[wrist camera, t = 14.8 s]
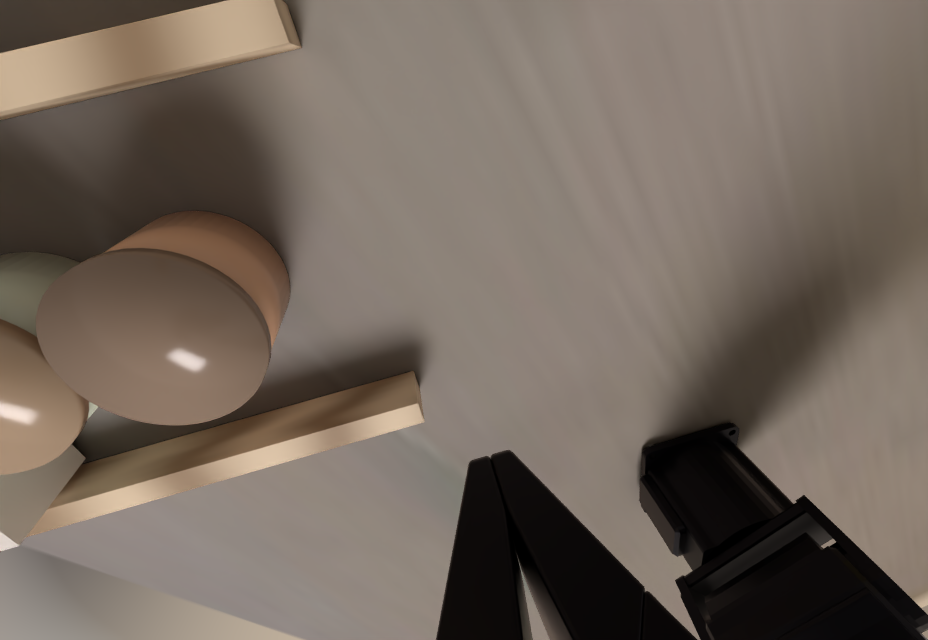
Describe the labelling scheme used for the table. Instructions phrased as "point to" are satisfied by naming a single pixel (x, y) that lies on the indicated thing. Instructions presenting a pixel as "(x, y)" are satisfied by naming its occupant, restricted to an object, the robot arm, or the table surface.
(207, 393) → the jar
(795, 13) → the table surface
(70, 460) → the peg stand
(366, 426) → the lane
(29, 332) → the stock jar
